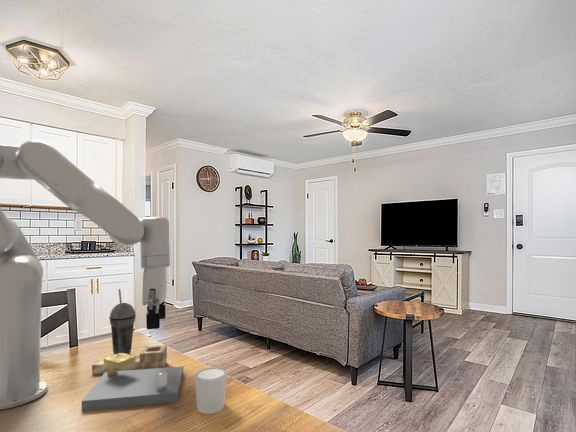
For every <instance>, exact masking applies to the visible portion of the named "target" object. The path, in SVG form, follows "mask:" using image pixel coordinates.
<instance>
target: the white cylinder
mask: <svg viewBox="0 0 576 432" xmlns="http://www.w3.org/2000/svg"><path fill="white" fill-rule="evenodd" d="M193 376H194V386H195V396H196V398H195V399H196V408H197V412H199V413H202V414H211V415H212V414H214V413H218V412H220V411H222V410H223V409H224V408H225V399H226V389H227V379H228V372H227V370H226V369H223V368H219V367H208V368H204V369H203V368H202V369H201V370H199V371H197V372H195V373H194V375H193Z"/></svg>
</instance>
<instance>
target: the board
mask: <svg viewBox="0 0 576 432" xmlns="http://www.w3.org/2000/svg"><path fill="white" fill-rule="evenodd" d="M184 367H185V366H181V365H180V366H170V367H165V368H154V369H140V370H127V371H117V373H116V374H115V375H107V372H105V373H103V374H102V376H100V378H99V379H98V380H97V381H96V383H95V384H94V385H93V387H92V388H91V389H90V390H88V391H89V392H87V394H86V395H85V396H84V398H83V399H82V400H81V412H83V411H93V410H95V411H96V410H103V409H105V410H106V409H114V408H124V407H125V408H126V407H127V408H128V407H135V406H137V407H138V406H146V405H159V404H167V403H177V400H178V396H179V392H180V388H181V386H182V381H183V377H184ZM161 371H166V372H167V389H166V390H164V391H157V390H156V374H157V373H158V372H161Z"/></svg>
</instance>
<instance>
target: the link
mask: <svg viewBox="0 0 576 432" xmlns="http://www.w3.org/2000/svg"><path fill="white" fill-rule="evenodd" d="M167 346H168V344H160V345H145V346H144V347H143V348H142V349H141V351H140V353H139V357H136V361H135V362H132V363H130V364H127V365H125V366H122V367H119V368H117V371H127V370H140V369H154V368H166V365H167V364H168V363H167V362H168V361H167V359H168V355H167V354H168V353H167V351H168V349H167V348H168V347H167ZM105 372H107V365H106V364H104V359H101V360H95V362H93V364H92V365H91V375H101V374H102V375H103V374H104V373H105Z"/></svg>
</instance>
